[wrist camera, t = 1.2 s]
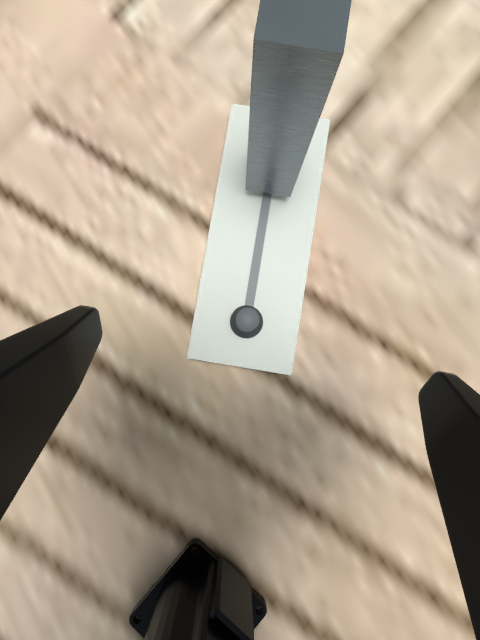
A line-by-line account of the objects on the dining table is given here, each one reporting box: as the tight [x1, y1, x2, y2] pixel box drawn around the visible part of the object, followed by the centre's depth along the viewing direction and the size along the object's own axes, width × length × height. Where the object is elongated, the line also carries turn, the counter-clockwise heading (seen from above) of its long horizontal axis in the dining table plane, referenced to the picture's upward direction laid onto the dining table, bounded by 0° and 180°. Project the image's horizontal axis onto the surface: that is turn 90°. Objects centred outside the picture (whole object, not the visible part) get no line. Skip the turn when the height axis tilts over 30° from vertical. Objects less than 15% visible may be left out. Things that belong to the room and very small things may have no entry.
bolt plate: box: [187, 104, 330, 375], centre depth 20 cm, size 18×7×4 cm, turn 171°
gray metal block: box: [245, 0, 351, 197], centre depth 15 cm, size 3×3×11 cm
